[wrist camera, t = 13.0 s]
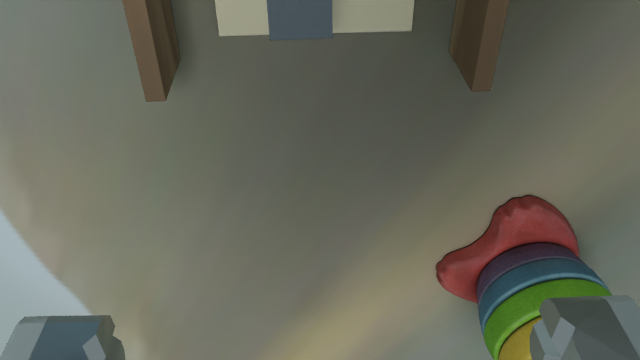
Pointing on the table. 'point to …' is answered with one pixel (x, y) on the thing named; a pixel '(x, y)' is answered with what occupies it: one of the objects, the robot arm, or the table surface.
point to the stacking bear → (518, 273)
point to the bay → (465, 47)
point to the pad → (347, 16)
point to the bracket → (299, 19)
